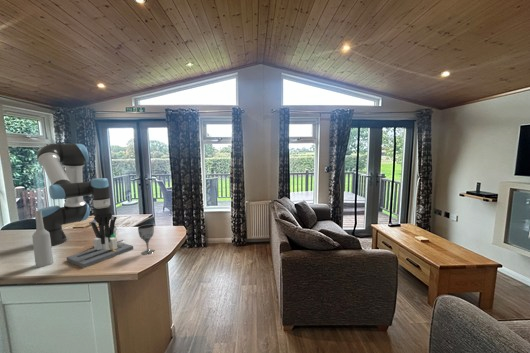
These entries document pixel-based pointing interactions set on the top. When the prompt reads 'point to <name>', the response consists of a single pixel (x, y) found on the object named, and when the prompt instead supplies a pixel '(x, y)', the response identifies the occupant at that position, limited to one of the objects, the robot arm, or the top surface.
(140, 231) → the wine glass
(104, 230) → the food container
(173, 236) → the top surface
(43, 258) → the bottle
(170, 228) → the top surface
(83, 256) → the console
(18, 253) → the top surface
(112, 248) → the fader
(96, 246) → the fader
